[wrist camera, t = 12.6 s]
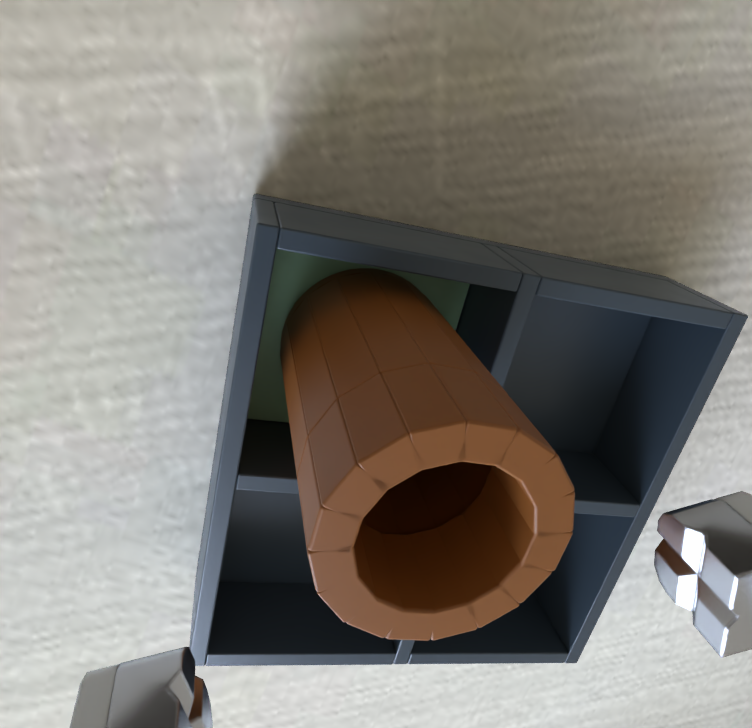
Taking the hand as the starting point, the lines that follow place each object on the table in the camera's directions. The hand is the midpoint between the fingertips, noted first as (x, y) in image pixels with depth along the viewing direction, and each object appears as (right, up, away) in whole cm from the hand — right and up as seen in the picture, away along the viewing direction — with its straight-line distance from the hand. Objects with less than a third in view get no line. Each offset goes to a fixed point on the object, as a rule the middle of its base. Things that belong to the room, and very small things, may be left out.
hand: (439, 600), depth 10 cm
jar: (-2, +5, +11) cm, 12 cm away
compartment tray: (+1, +1, +14) cm, 14 cm away
